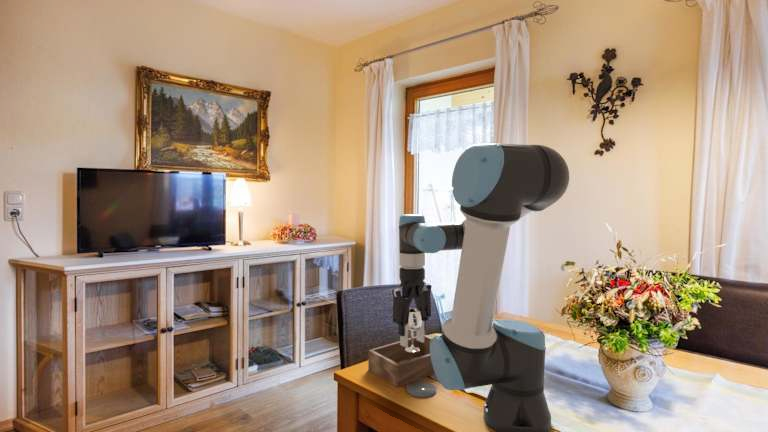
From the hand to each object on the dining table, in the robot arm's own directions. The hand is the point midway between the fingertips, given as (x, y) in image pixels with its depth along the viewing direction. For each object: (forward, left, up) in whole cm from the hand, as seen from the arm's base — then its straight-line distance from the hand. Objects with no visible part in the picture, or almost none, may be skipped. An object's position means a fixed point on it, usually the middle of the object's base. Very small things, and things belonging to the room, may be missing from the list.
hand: (412, 343), depth 129 cm
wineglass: (0, 0, -2) cm, 2 cm away
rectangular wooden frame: (+1, 0, -8) cm, 8 cm away
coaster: (-11, +7, -8) cm, 16 cm away
